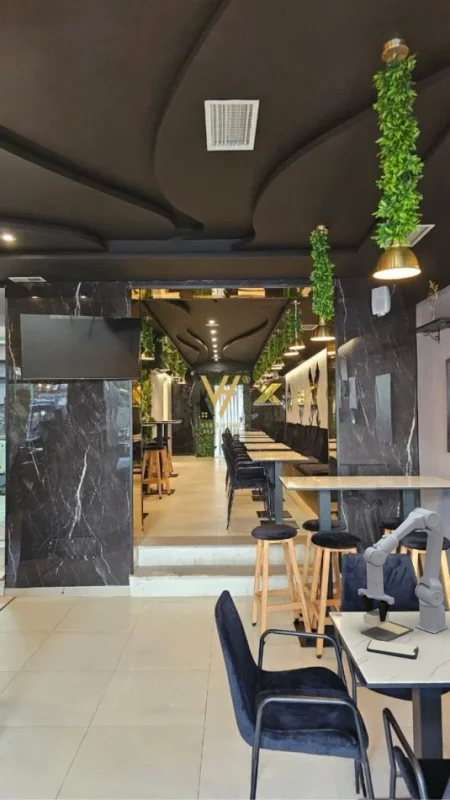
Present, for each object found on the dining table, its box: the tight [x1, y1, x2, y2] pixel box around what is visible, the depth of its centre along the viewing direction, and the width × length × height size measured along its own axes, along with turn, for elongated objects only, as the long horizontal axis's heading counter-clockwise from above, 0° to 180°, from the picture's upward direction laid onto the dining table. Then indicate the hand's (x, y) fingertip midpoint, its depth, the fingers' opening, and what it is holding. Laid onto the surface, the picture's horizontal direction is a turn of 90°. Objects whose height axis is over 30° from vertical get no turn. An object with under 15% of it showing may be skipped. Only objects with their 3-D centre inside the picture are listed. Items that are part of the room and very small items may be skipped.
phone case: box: [366, 639, 420, 660], centre depth 176 cm, size 9×2×16 cm
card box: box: [363, 608, 390, 627], centre depth 190 cm, size 8×5×3 cm, turn 126°
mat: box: [360, 620, 414, 642], centre depth 191 cm, size 17×10×1 cm, turn 126°
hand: (376, 619), depth 190 cm, fingers closed on card box, 5 cm apart
